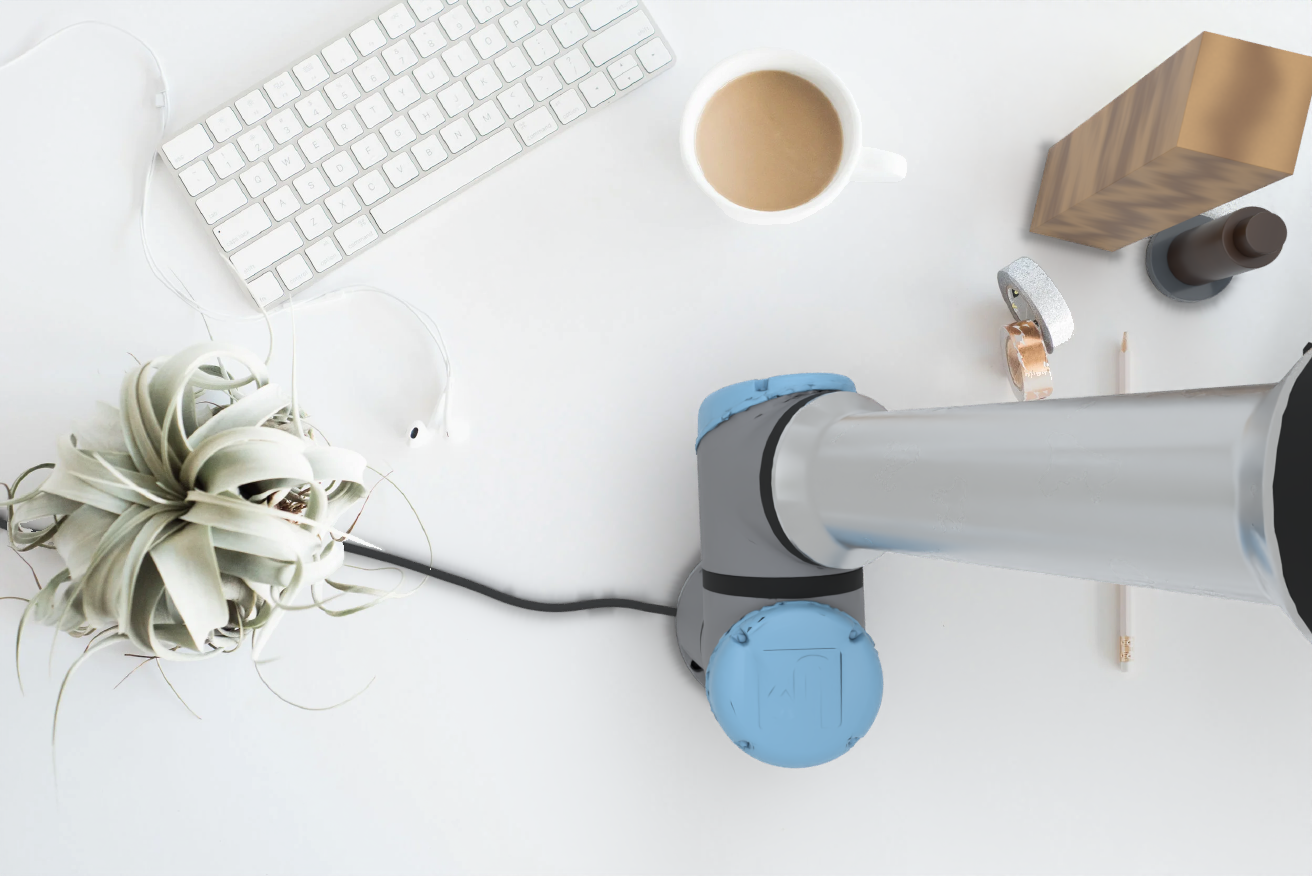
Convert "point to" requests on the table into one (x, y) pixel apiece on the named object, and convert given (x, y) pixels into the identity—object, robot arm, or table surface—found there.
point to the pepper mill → (1227, 246)
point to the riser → (1177, 143)
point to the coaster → (1163, 274)
